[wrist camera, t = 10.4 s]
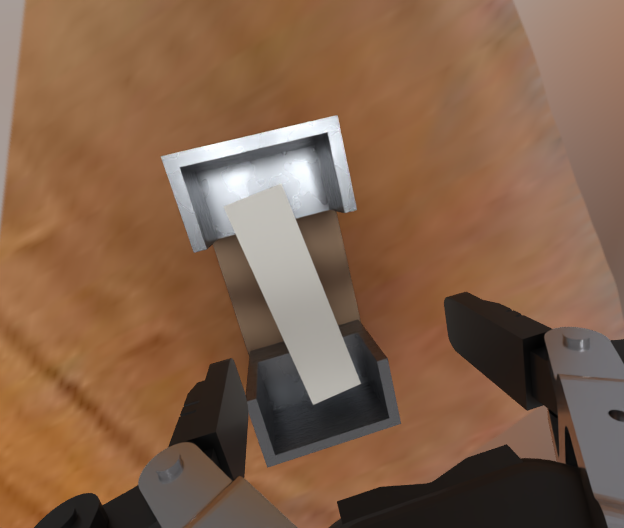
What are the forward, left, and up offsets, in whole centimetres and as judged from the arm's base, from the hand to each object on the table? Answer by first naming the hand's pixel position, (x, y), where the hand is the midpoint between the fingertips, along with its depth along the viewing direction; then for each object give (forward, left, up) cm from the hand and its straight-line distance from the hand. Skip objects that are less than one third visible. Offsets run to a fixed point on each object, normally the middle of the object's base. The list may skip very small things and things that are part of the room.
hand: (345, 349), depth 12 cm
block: (+2, -1, -15) cm, 15 cm away
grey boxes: (+2, -1, -17) cm, 17 cm away
